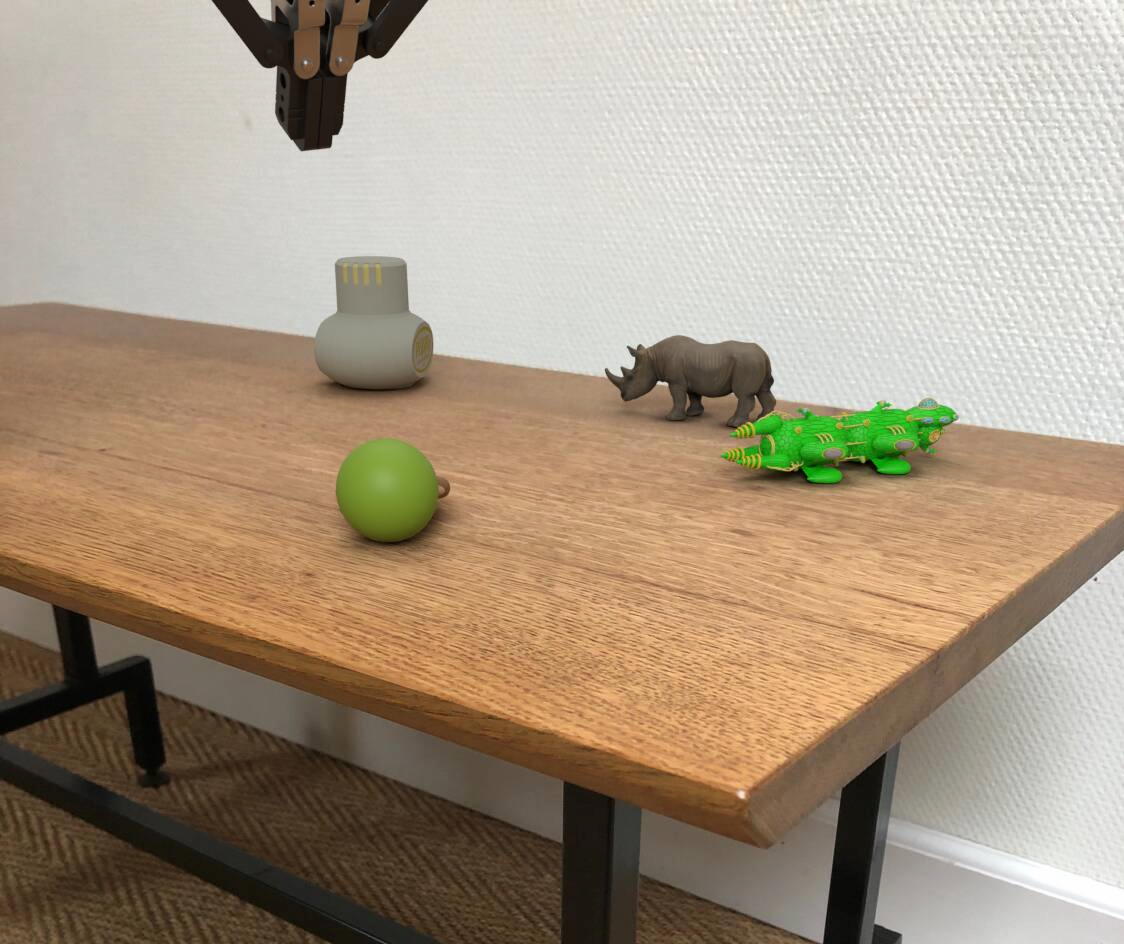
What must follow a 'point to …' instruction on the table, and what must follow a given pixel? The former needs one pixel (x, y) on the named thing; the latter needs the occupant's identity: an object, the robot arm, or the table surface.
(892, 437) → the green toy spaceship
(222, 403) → the table surface
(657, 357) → the rhino figurine
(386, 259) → the air freshener
